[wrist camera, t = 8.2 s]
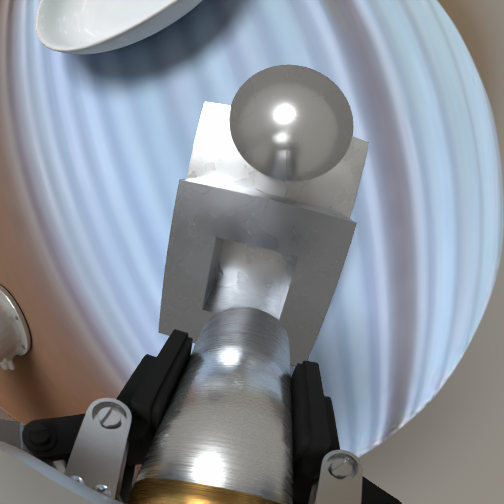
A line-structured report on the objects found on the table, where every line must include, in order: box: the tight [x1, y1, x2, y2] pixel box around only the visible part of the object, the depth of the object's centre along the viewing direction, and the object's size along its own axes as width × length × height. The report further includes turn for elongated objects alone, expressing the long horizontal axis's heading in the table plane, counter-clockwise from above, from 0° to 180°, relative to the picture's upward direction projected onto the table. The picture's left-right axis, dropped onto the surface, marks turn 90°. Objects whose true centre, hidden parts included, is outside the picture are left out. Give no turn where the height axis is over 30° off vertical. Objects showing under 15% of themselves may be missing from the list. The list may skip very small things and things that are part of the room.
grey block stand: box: [159, 65, 369, 366], centre depth 17 cm, size 19×14×15 cm
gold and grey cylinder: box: [126, 306, 293, 504], centre depth 7 cm, size 4×4×10 cm
